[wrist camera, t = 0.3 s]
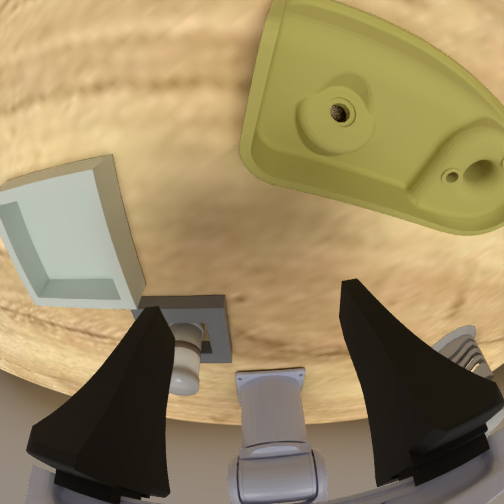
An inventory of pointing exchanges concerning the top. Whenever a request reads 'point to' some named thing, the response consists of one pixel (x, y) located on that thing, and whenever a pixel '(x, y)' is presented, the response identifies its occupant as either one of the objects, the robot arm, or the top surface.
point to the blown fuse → (186, 358)
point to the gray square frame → (197, 321)
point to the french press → (468, 359)
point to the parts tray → (72, 236)
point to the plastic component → (373, 119)
